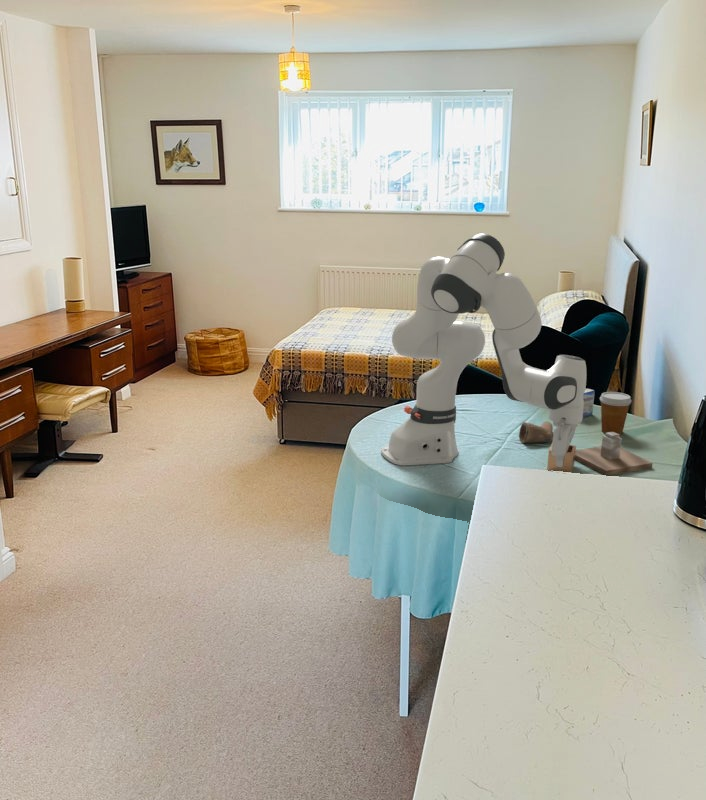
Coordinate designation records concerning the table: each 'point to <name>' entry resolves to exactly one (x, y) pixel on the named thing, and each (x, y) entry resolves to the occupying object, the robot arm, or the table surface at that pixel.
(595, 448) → the wavy brown square sheet
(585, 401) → the medicine box
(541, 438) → the pipe
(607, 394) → the disposable coffee cup
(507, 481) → the table surface
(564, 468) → the tan hollow cube
